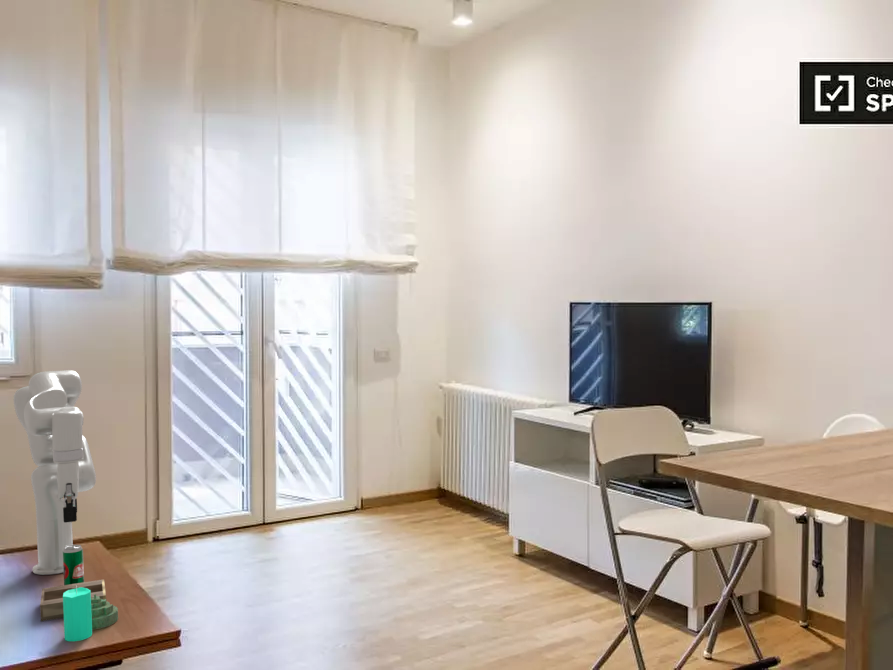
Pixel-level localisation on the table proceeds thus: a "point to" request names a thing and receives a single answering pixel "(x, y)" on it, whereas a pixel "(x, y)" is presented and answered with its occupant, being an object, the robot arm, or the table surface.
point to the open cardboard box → (54, 598)
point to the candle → (77, 614)
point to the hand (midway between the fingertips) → (70, 517)
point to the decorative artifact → (102, 613)
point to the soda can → (73, 564)
